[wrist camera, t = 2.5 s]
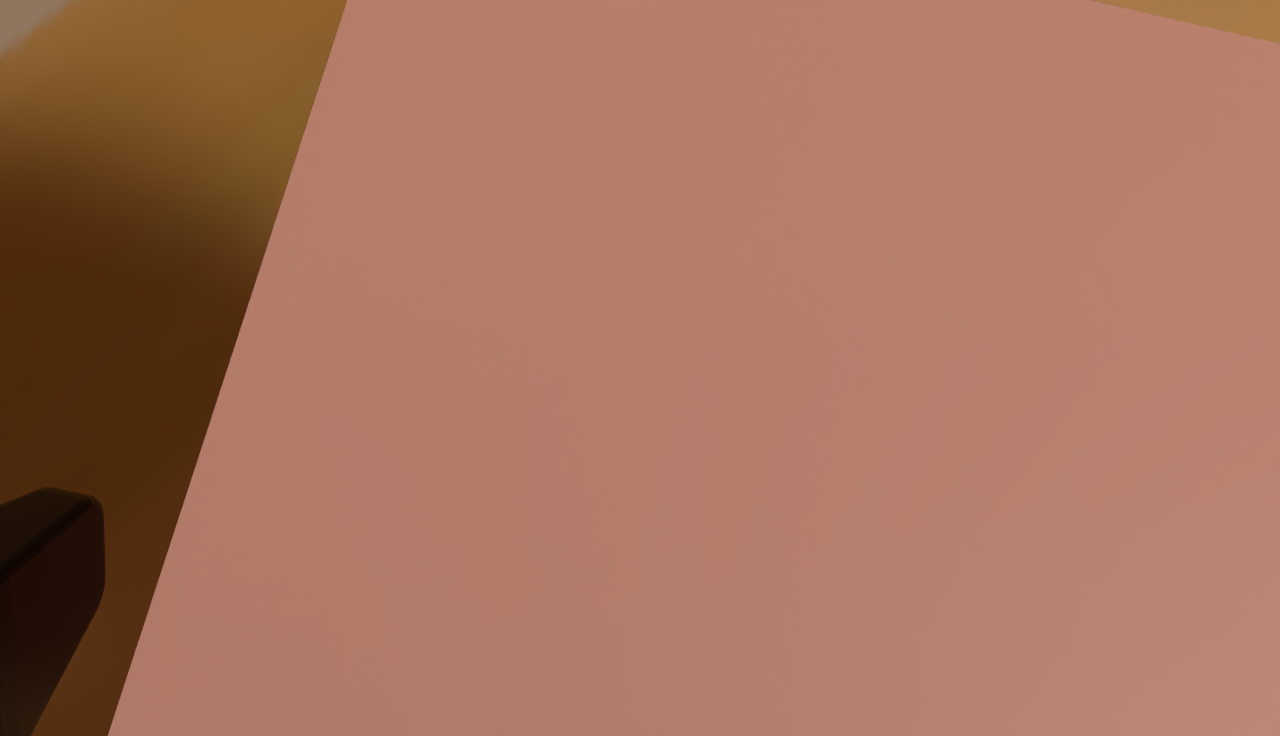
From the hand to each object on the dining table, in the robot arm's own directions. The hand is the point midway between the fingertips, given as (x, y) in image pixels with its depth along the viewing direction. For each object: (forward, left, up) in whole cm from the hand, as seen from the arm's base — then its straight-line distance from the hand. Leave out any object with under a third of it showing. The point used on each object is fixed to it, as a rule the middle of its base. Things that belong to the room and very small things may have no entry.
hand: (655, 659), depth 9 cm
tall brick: (+1, 0, -9) cm, 9 cm away
